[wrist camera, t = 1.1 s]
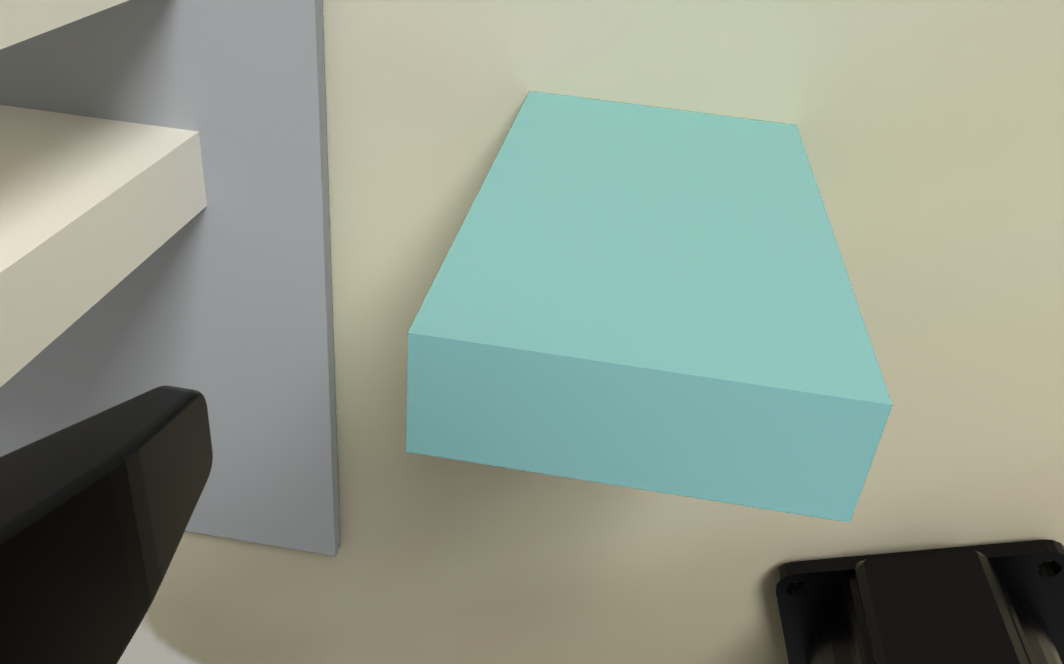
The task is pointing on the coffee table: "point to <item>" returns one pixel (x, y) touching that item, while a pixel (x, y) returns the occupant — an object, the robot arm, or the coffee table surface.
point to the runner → (208, 254)
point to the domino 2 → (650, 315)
